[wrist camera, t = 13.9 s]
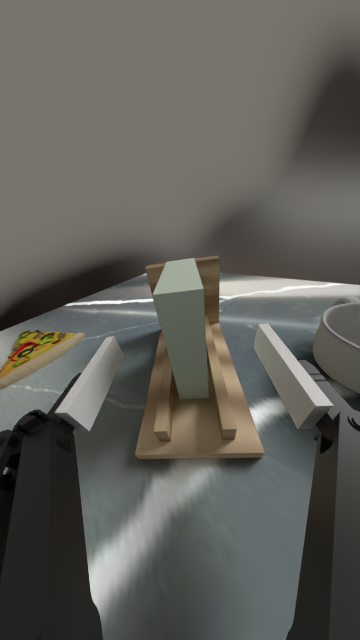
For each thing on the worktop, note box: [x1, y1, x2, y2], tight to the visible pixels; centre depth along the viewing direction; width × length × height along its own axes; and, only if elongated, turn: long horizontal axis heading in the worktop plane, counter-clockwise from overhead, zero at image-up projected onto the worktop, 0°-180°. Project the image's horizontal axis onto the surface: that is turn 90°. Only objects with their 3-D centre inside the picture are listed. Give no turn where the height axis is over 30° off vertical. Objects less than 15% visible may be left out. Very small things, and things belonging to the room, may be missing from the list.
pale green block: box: [153, 258, 209, 400], centre depth 18 cm, size 10×4×14 cm, turn 179°
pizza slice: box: [0, 330, 85, 389], centre depth 34 cm, size 16×21×3 cm
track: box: [135, 256, 264, 459], centre depth 19 cm, size 22×12×14 cm, turn 179°
